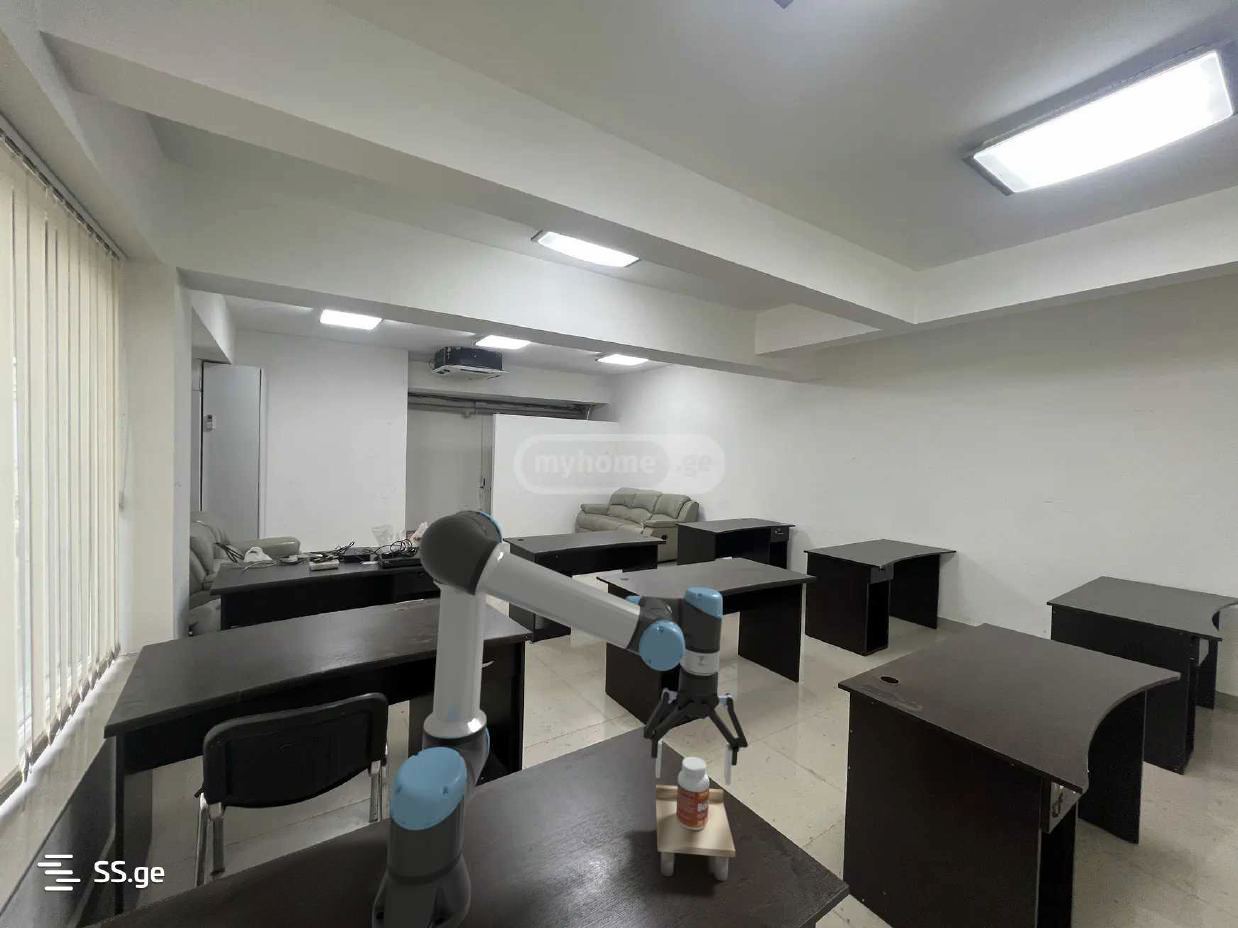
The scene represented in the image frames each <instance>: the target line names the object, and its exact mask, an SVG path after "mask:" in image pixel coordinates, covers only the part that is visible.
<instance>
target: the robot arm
mask: <svg viewBox="0 0 1238 928" xmlns="http://www.w3.org/2000/svg"><path fill="white" fill-rule="evenodd" d="M418 556H419V559H420V563H421V565H422V567H423V568H424V571H425V572H427V573H428V574H429V576H431V577H432V579H433V583H434V584H435V585H436V586H437V587H438V588H439V589H440V599H439V602H440V603H439V617H438V631H437V632H438V633H437V647H436V661H435V663H436V665H435V676H434V677H435V678H434V693H433V706H432V708H433V709H432V713H430V714H429V715H428V716H427V717H426V718H425V719H424V722H423V731H422V733H423V734H422V748H421V750H420V751H418V753H417V755H414V754H413V755H411V756H410V757H409V758H407V759H406V760H405V761H403V762H402V763H401V765H400V766H399V767H398V769H397V771H396V772H395V774H394V776H393V779H392V782H391V788H390V791H389V792H390V793H389V797H388V798H389V799H388V802H389V803H388V806H389V814H388V815H389V817H388V834H387V835H388V838H387V840H388V841H387V855H386V856H387V859H386V869H385V872H384V875H383V878H382V881H381V882H380V885H379V888H378V891H377V893H376V895H375V899H374V903H373V907H372V914H371V915H372V916H371V928H459V927H460V926H461V924H462V923H463V922H464V920H465V918H466V917H467V914H468V912H469V909H470V906H471V905H470V904H471V896H472V894H471V893H472V892H471V891H472V884H471V878H470V875H469V872H468V868H467V865H466V862H465V858H464V855H463V841H464V826H465V825H464V824H465V821H464V820H465V814H466V809H467V808H468V807H467V806H468V804H469V802H470V801H471V800H470V799H471V797H472V795H473V792H474V790H475V787H476V784H477V781H478V779H479V778H480V775H481V772H482V771H483V769H484V767H485V765H486V761H487V760H488V756H489V751H490V734H489V729H488V728H487V715H486V714H485V711H483V710H481V708H480V702H481V685H482V684H481V683H482V672H483V671H482V670H483V669H482V668H483V655H484V654H483V653H484V640H485V638H484V637H485V626H486V625H485V624H486V623H485V622H486V610H487V609H486V607H487V606H486V605H487V595H488V596H491V597H493V598H496V599H498V600H501V601H503V602H506V603H509V604H510V605H513V606H516V607H519V608H521V609H523V610H526V611H528V612H530V613H533V614H536V615H538V616H541V617H544V618H546V619H548V620H552V621H554V622H556V623H558V624H561V625H564V626H566V627H568V628H570V629H574V630H576V631H578V632H582V633H584V634H586V635H588V636H591V637H593V638H595V639H596V638H597V639H598V640H602V642H603V641H604V642H606V643H608V644H612V645H613V646H616V647H619V648H621V649H624V650H625V651H626V650H627V651H629V652H631V653H634V654H635V655H638V656H640V657H641V659H642V660H643V661H644V663H645V664H646V665H647V666H648V667H649V668H651V669H652V670H655V671H658V672H659V671H660V672H662V671H663V672H664V671H665V672H666V671H669V670H671V669H674V668H675V667H677V666H678V665H679V664H680V668H679V676H678V677H679V678H678V680H679V681H678V689H677V690H676V691H673V690H669V688H668V687H664V688H662V693H661V697H660V700H659V702H658V703H657V705H656V706H655V708H654V710H653V711H652V713H651V714H650V716H649V718H648V720H647V722H646V723H645V726H644V727H643V738H644V739H646V740H648V739H649V740H650V741H651V745H650V746H651V749H650V755H651V758H652V759H655V778H656V779H660V778H661V765H662V764H661V763H662V752H663V751H662V749H663V748H662V747H663V739H662V738H664V736H665V735H666V734H667V733H668V732H670V730H672V728H673V727H674V726H675V725H677V723H678V722H679V721H682V719H684V718H685V717H688V718H689V719H695V718H698V719H701V720H705V719H706V718H709V719H710V721H712V723H713V724H714V726H715V727H716V728H717V730H718V731H719V732H720V733H721V735H722V736H723V738H724V739H725V740H726V743H725V754H724V755H725V756H724V771H723V778H724V781H725V785H727V786H730V785H731V780H732V778H731V775H732V766H736V765H737V764H738V752H739V751H740V749H741V748H744V749H746V748H748V747H749V744H748V741H747V738H746V735H745V734H744V731H743V728H742V726H741V723H740V721H739V719H738V716H737V714H736V712H735V706H734V705H735V704H734V699H733V696H732V694H731V693H729V692H727V693H725V694H724V695H719V694H718V686H719V672H718V671H719V669H720V656H721V655H720V653H721V652H720V651H721V638H722V625H723V618H724V615H723V609H724V608H723V595H722V594H721V593H720V592H719V591H717V590H715V589H712V588H707V587H702V586H701V587H700V586H696V587H688V588H687V589H686V590H685V592H684V595H683V597H677V598H675V597H662V596H660V597H659V596H647V595H644V594H642V595H628V596H626V597H625V598H622V597H619V596H618V595H617V596H616V595H614V594H613V593H609V592H607V591H604V590H603V589H599V588H597V587H596V586H595V587H594V586H592V585H590V584H587V583H584V582H582V581H579V580H577V579H576V578H575V579H574V578H572V577H569V576H567V575H565V574H562V573H560V572H558V571H556V570H553V569H550V568H547V567H545V566H543V565H540V564H537V563H535V562H533V561H530V560H527V559H526V558H523V557H520V556H519V555H518V556H517V555H515V554H513V553H510V552H508V551H506V549H505V548H504V545H503V533H502V530H501V527H500V525H499V524H498V521H497V520H496V519H494V518H493V517H492V516H491V515H489V513H485V512H483V511H480V510H471V509H470V510H460V511H457V512H456V513H454V514H451V515H446V516H443V517H439V518H438V519H437V520H435V521H433V522H432V523H431V524H430V525H429V526H428V527H426V529H425V531H424V532H423V534H422V535H421V538H420V540H419V546H418ZM673 700H676V702H677V705H676V706H674V707H675V708H674V709H673V710H672V711H671V712H670V714H669V715H667V716H666V717H665V719H663V720H662V721H661V723H660V720H661V719H662V717H663V715H664V713H665V711H666V710H667V707H668V705H669V704H671V703H672V702H673ZM719 704H721V705H722V708H724V709H726V710H727V713H728V715H729V719H730V720H731V723H732V726H733V728H734V730H735V733H736V735H737V737H735V736H734V735H733V733H732V732H731V730H730V729H729V728H728V726H727V725H726V724H725V722H724V721H723V720H722V718H721V717H720V715H719V714H718V712H717V710H716V708H717V706H719ZM658 723H659V725H658ZM657 725H658V726H657ZM656 726H657V727H656Z"/></svg>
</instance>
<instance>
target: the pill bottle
mask: <svg viewBox="0 0 1238 928" xmlns="http://www.w3.org/2000/svg"><path fill="white" fill-rule="evenodd" d="M681 763H682V764H681V770H680V772H679V773H678V775H677V786H678V788H677V810H676V817H677V820H678V822H679V823H680V825H681V826H683V827H684V828H687V829H690V830H700V829H703V828H704V827H705V826H706V825H707V822H708V806H709V789H710V779H709V776H708V774H707V763H706V762H705V760H704V759H701V758H699V757H695V756H687V757H685V758H684V759H682V762H681Z"/></svg>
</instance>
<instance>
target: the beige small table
mask: <svg viewBox="0 0 1238 928" xmlns="http://www.w3.org/2000/svg"><path fill="white" fill-rule="evenodd" d="M677 788H678V785H666V784H664V785H663V784H655V820H656V821H655V824H656V843H657V845H656V846H657V852H661V853H660V870H659V871H660V873H661V874H662V875H663V876H665V877H671V876H673V874H674V863H675V862H674V861H675V853H676V854H687V855H688V854H689V855H698V856H699V855H701V856H710V857H711V856H712V857H714V869H713V870H714V873H713V874H714V877H715V879H716V880H718V881H721V882H722V881H727V879H728V876H729V875H728V872H729V858H736V849H735V845H734V840H733V837H732V832H731V829H730V824H729V820H728V815H727V811H726V808H725V805H724V804H725V803H724V794H725V793H724V789H722V788H721V789H720V788H718V789H717V788H709V806H708V822H707V825H706V826H705V827H704V828H703V829H700V830H690V829H687V828H684V827H683V826H681V825H680V823H679V822H678V820H677V817H676V810H677Z"/></svg>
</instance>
